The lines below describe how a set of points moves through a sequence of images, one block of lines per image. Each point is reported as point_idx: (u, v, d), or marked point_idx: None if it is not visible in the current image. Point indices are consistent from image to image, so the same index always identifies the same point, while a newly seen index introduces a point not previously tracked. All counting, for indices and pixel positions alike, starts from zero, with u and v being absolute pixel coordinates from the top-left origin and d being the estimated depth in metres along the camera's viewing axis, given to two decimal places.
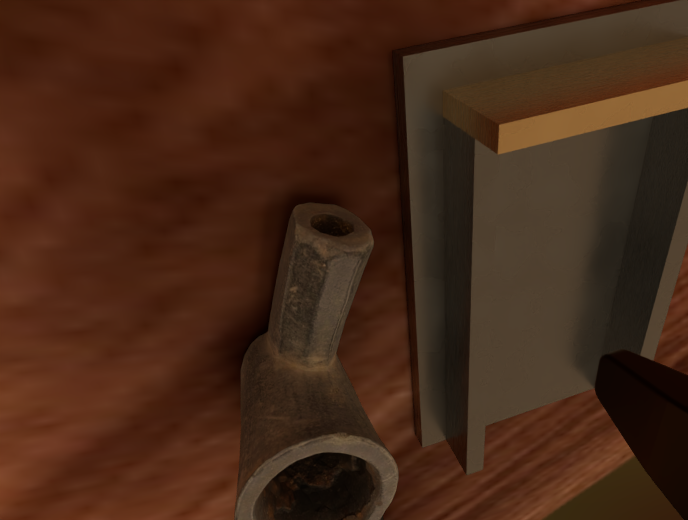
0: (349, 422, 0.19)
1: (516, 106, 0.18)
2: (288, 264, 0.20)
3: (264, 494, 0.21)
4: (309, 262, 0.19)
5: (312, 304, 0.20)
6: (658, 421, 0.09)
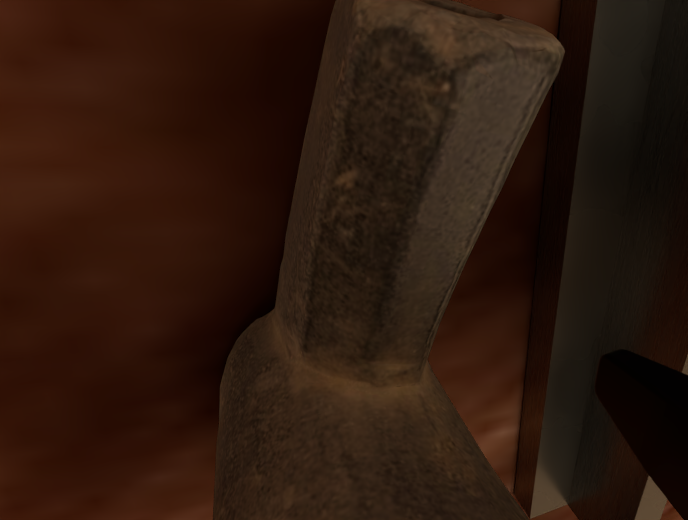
0: None
1: None
2: (334, 109, 0.07)
3: None
4: (398, 88, 0.07)
5: (399, 218, 0.07)
6: (658, 421, 0.09)
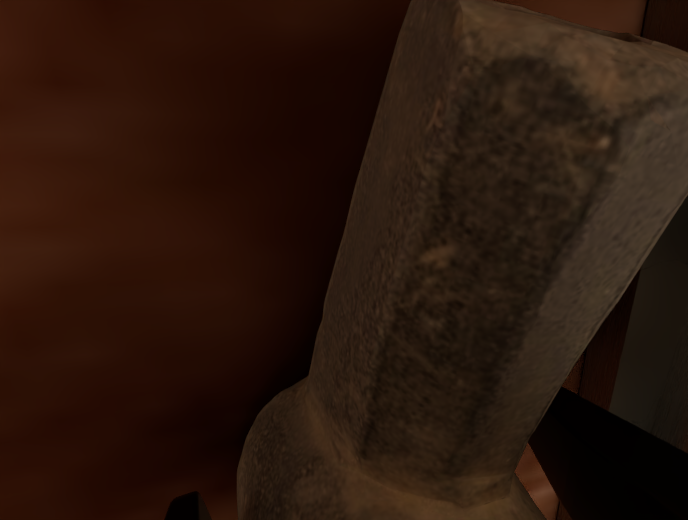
0: None
1: None
2: (421, 164, 0.05)
3: None
4: (528, 140, 0.05)
5: (514, 310, 0.05)
6: (567, 454, 0.08)
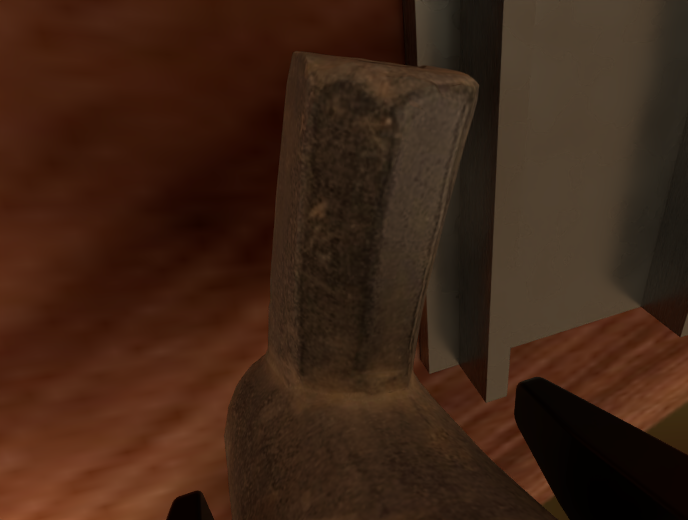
0: (509, 503, 0.08)
1: None
2: (299, 155, 0.09)
3: None
4: (350, 128, 0.08)
5: (367, 235, 0.09)
6: (566, 455, 0.08)
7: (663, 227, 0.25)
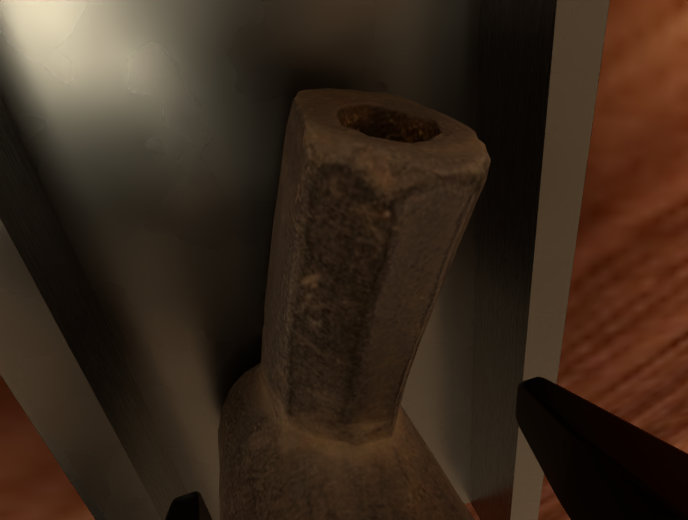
0: None
1: None
2: (295, 222, 0.08)
3: None
4: (347, 212, 0.08)
5: (359, 313, 0.08)
6: (567, 454, 0.08)
7: (474, 422, 0.18)
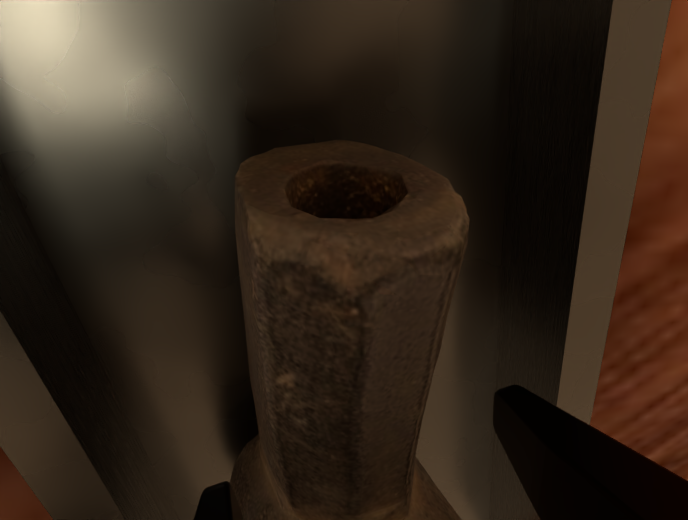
0: None
1: None
2: (256, 319, 0.07)
3: None
4: (310, 311, 0.07)
5: (344, 412, 0.07)
6: (541, 464, 0.08)
7: (495, 459, 0.17)
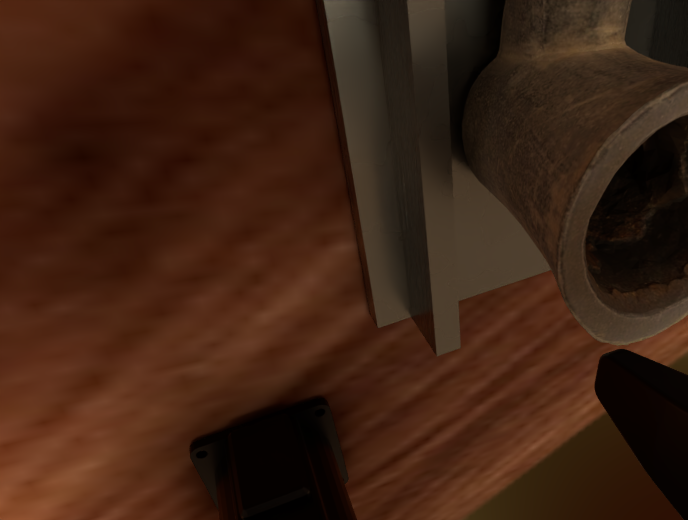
0: None
1: None
2: None
3: None
4: None
5: None
6: (658, 421, 0.09)
7: None
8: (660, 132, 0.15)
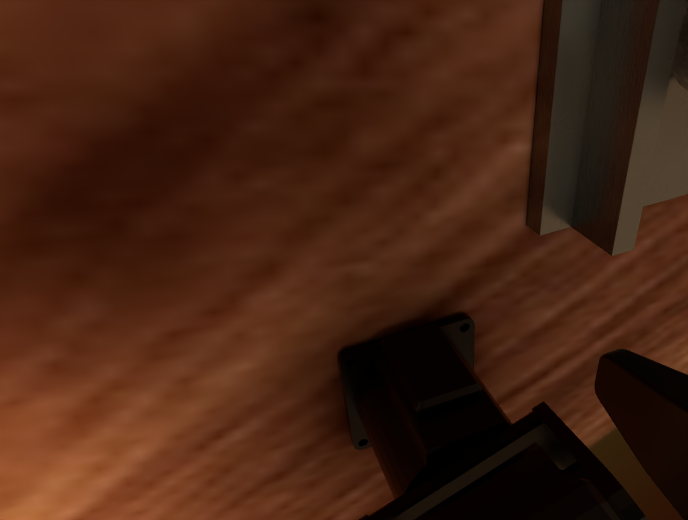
0: None
1: None
2: None
3: None
4: None
5: None
6: (658, 421, 0.09)
7: None
8: None
